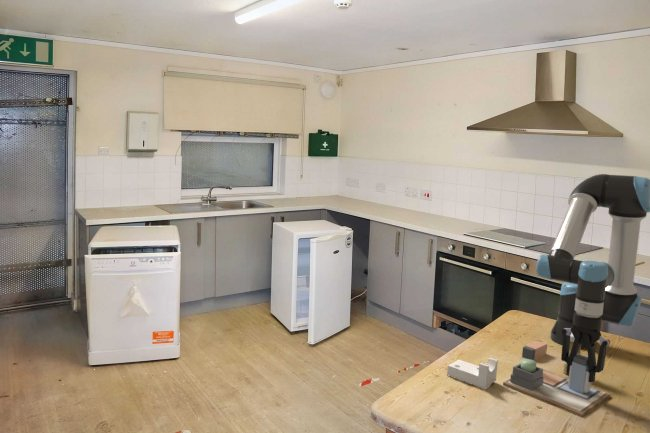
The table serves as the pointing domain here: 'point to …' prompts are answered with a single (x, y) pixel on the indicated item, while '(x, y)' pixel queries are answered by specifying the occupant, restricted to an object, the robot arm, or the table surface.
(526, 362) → the button
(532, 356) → the terracotta marker
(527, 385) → the button housing
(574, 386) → the grey square prism
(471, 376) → the bracket
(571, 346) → the sprinkles bottle
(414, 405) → the table surface
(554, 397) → the wood rimmed sorting board
